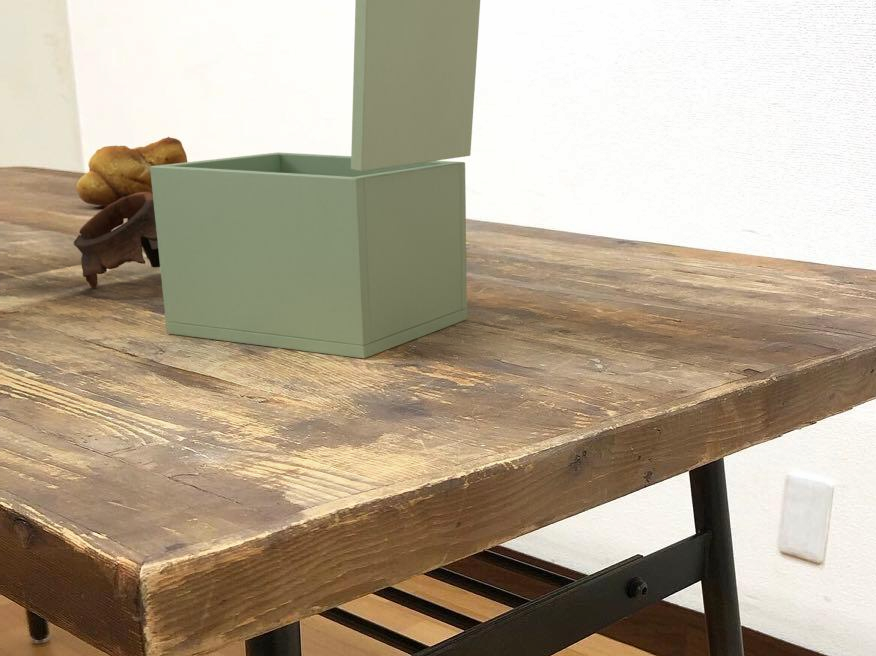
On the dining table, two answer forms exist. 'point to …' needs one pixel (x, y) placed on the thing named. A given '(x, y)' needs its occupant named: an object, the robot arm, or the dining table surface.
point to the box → (311, 251)
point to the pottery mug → (119, 236)
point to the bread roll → (126, 170)
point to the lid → (413, 81)
